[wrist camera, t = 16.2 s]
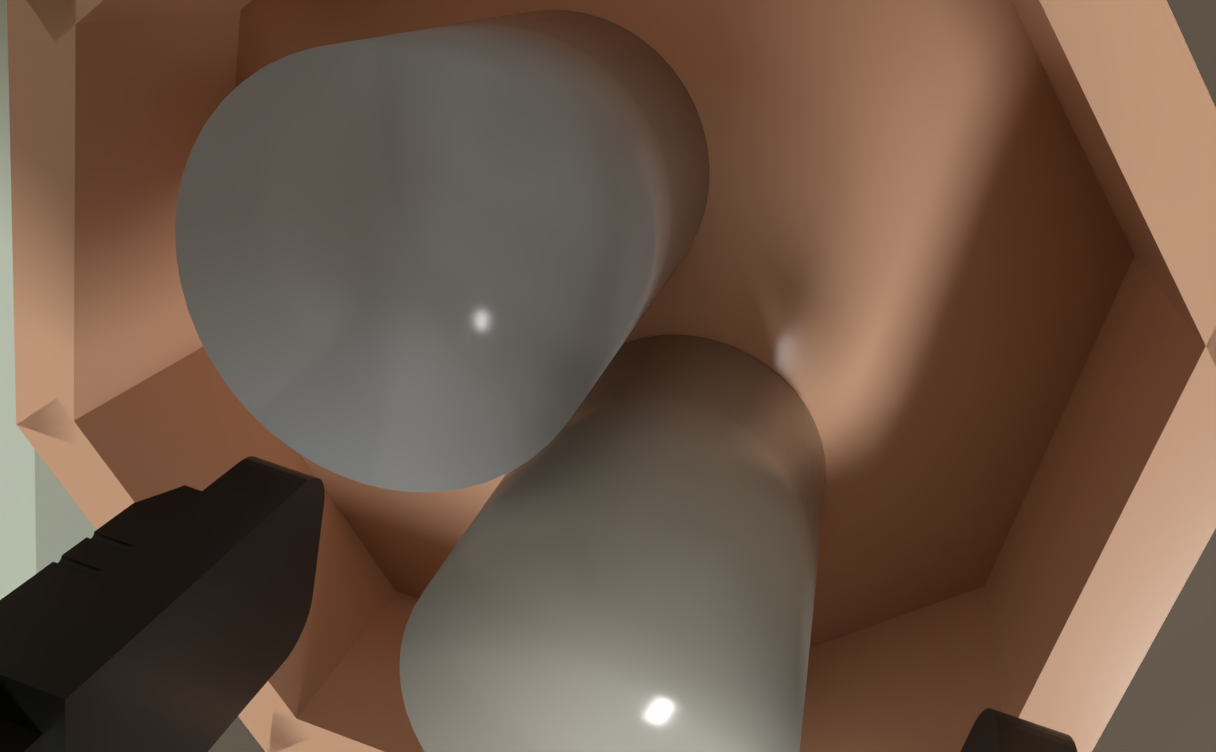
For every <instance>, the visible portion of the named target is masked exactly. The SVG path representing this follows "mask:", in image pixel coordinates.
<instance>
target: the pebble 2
mask: <svg viewBox="0 0 1216 752" xmlns="http://www.w3.org/2000/svg"><path fill="white" fill-rule="evenodd" d="M825 483H826V462H825V454H824V449H823V444H822V440H821V437H820V434H819V432H818V429H817V426H816V424H815V422H814V420H813V418H812V416H811V414H810V412H809V410H808V408H807V407H806V405H805V404H804V402H803V401H802V400H801V398H800V397H799V395H798V394H797V393H796V391H795V390H794V389H793V388H792V387H791V386H790V385H789V384H788V383H787V382H786V381H785V379H784V378H782V377H781V376H780V375H779V374H778V373H776V372H775V371H774V370H773V369H772V368H771V367H769V366H768V365H766V364H765V363H763V362H762V361H760V360H759V359H757V358H756V357H754V356H753V355H751V354H748V353H746V352H744V351H742V350H740V349H738V348H736V347H734V346H731V345H728V344H725V343H722V342H719V341H716V340H712V339H707V338H703V337H698V336H687V335H659V336H653V337H647V338H641V339H637V340H634V341H631V342H628V343H624V344H623V345H622V346H621V348H620V349H619V350H618V352H617V353H616V355H615V356H614V357H613V359H612V360H611V362H610V363H609V365H608V366H607V367H606V369H605V370H604V372H603V373H602V375H601V376H600V377H599V379H598V380H597V382H596V383H595V384H594V386H593V387H592V389H591V390H590V392H589V393H588V394H587V396H586V397H585V399H584V400H583V402H582V403H581V404H580V406H579V407H578V409H577V410H576V411H575V413H574V414H573V416H572V417H571V419H570V420H569V421H568V423H567V424H566V425H565V426H564V427H563V429H562V430H561V431H560V432H559V433H558V434H557V435H556V437H555V438H554V439H553V440H552V441H551V442H550V443H549V444H548V445H547V446H546V447H544V448H543V449H542V450H541V451H540V452H539V453H537V454H536V455H535V456H534V457H533V458H532V459H530V460H528V461H527V462H525V463H524V464H522V465H520V466H519V467H517V468H516V469H514V470H512V471H511V472H509V473H507V474H506V475H505V476H504V478H503V479H502V480H501V482H500V483H499V485H498V486H497V488H496V489H495V490H494V492H493V493H492V495H491V496H490V497H489V499H488V500H487V502H486V503H485V505H484V506H483V507H482V509H481V510H480V512H479V513H478V515H477V516H476V517H475V519H474V520H473V522H472V523H471V525H470V526H469V527H468V529H467V530H466V532H465V533H464V535H463V536H462V537H461V539H460V540H459V542H458V543H457V545H456V546H455V547H454V549H453V550H452V552H451V553H450V555H449V556H448V557H447V559H446V560H445V562H444V563H443V564H442V566H441V567H440V569H439V570H438V572H437V573H436V574H435V576H434V577H433V579H432V580H431V582H430V583H429V584H428V586H427V587H426V589H425V590H424V592H423V593H422V595H421V597H420V598H419V600H418V601H417V603H416V604H415V606H414V608H413V610H412V612H411V615H410V617H409V620H408V622H407V624H406V627H405V631H404V635H403V640H402V644H401V651H400V665H399V670H400V682H401V691H402V695H403V700H404V704H405V709H406V712H407V715H408V717H409V720H410V723H411V725H412V728H413V731H414V733H415V735H416V737H417V738H418V740H419V742H420V744H421V746H422V748H423V750H424V752H800V742H801V732H802V721H803V711H804V701H805V690H806V680H807V670H808V659H809V649H810V639H811V628H812V618H813V607H814V597H815V587H816V576H817V566H818V556H819V545H820V535H821V525H822V514H823V504H824V494H825Z"/></svg>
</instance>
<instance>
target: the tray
mask: <svg viewBox="0 0 1216 752" xmlns="http://www.w3.org/2000/svg"><path fill="white" fill-rule="evenodd" d="M94 531H96V529H95V527H94V526H93V525H92V523H91V522H90V521H89V520H88V518H87V517H86V516H85V514H84V513H83V512H82V510H81V509H80V508H79V506H78V505H77V504H76V502H75V501H74V500H73V499H72V497H71V496H70V495H69V493H68V492H67V491H66V489H65V488H64V487H63V485H62V484H61V483H60V481H59V480H58V479H57V477H56V476H55V475H54V474H53V472H52V471H51V470H50V468H49V467H48V466H47V464H46V463H45V462H44V460H43V459H42V458H41V456H40V455H39V454H38V453H37V451H36V450H35V449H34V447H33V446H32V445H31V443H30V442H29V441H28V439H27V438H26V437H25V435H24V434H23V433H22V432H21V430H20V429H19V428H18V426H17V425H16V391H15V345H14V299H13V253H12V208H11V162H10V116H9V70H8V24H7V0H0V600H1V599H2V598H4V597H5V596H6V595H8V594H9V593H11V592H12V591H13V590H15V589H16V588H17V587H19V586H20V585H22V584H23V583H24V582H26V581H27V580H28V579H30V578H31V577H33V576H34V575H35V574H37V573H38V572H39V571H41V570H42V569H44V568H45V567H46V566H48V565H49V564H50V563H52V562H56V563H58V562H59V561H60V559H61V557H62V555H63V554H64V553H66V552H67V551H68V550H70V549H71V548H72V547H74V546H75V545H77V544H78V543H79V542H81V541H82V540H83V539H85V538H86V537H87V538H90V539H91V538H92V537H93V535H94Z"/></svg>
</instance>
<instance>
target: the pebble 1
mask: <svg viewBox="0 0 1216 752" xmlns="http://www.w3.org/2000/svg"><path fill="white" fill-rule="evenodd" d="M709 170H710V167H709V157H708V147H707V142H706V138H705V133H704V129H703V125H702V123H701V120H700V117H699V114H698V112H697V109H696V106H695V104H694V102H693V100H692V98H691V97H690V95H689V93H688V91H687V89H686V87H685V86H684V84H683V83H682V81H681V80H680V78H679V77H678V75H677V74H676V73H675V71H674V70H673V69H672V67H671V66H670V65H669V64H668V63H667V62H666V61H665V60H664V59H663V58H662V56H661V55H660V54H659V53H658V52H657V51H655V50H654V49H653V48H652V47H651V46H649V45H648V44H647V43H646V42H645V41H644V40H642V39H641V38H639V37H638V36H636V35H635V34H633V33H631V32H630V31H628V30H627V29H625V28H623V27H621V26H619V25H617V24H615V23H612V22H610V21H608V20H606V19H603V18H600V17H596V16H593V15H590V14H587V13H581V12H575V11H568V10H540V11H533V12H526V13H520V14H513V15H507V16H501V17H495V18H489V19H483V20H477V21H471V22H465V23H459V24H453V25H447V26H440V27H434V28H428V29H422V30H416V31H410V32H404V33H398V34H392V35H386V36H380V37H374V38H368V39H361V40H355V41H349V42H343V43H337V44H331V45H325V46H319V47H314V48H311V49H307V50H304V51H301V52H297V53H294V54H291V55H288V56H286V57H283V58H281V59H279V60H277V61H275V62H273V63H271V64H269V65H267V66H265V67H263V68H261V69H260V70H259V71H257V72H256V73H254V74H253V75H252V76H250V77H249V78H247V79H246V80H244V81H243V82H242V83H240V84H239V85H238V86H237V87H236V88H235V89H234V90H233V91H232V92H231V93H230V94H229V95H228V96H227V97H226V98H225V99H224V100H223V101H222V102H221V103H220V104H219V106H218V107H217V108H216V110H215V111H214V112H213V114H212V115H211V116H210V118H209V119H208V120H207V122H206V123H205V125H204V127H203V128H202V130H201V132H200V134H199V136H198V138H197V140H196V142H195V143H194V145H193V147H192V150H191V152H190V155H189V158H188V161H187V164H186V166H185V169H184V172H183V176H182V180H181V185H180V190H179V194H178V199H177V210H176V222H175V238H176V257H177V264H178V270H179V276H180V282H181V286H182V290H183V294H184V297H185V301H186V304H187V308H188V311H189V314H190V316H191V319H192V321H193V324H194V327H195V329H196V332H197V334H198V337H199V339H200V341H201V342H202V344H203V346H204V348H205V350H206V352H207V354H208V356H209V358H210V360H211V362H212V363H213V365H214V366H215V368H216V369H217V371H218V372H219V374H220V375H221V377H222V378H223V380H224V381H225V383H226V384H227V386H228V387H229V388H230V390H231V391H232V392H233V393H234V395H235V396H236V397H237V398H238V399H239V401H240V402H241V403H242V404H243V406H244V407H245V408H246V409H247V410H248V411H249V412H250V413H251V414H252V415H253V416H254V417H255V418H256V419H257V420H258V421H259V422H260V423H261V424H262V425H263V426H264V427H265V428H266V429H267V430H269V431H270V432H271V433H272V434H274V435H275V436H276V437H277V438H279V439H280V440H281V441H282V442H283V443H285V444H286V445H287V446H289V447H290V448H292V449H293V450H295V451H296V452H298V453H299V454H301V455H302V456H304V457H306V458H307V459H309V460H310V461H312V462H314V463H316V464H318V465H320V466H322V467H324V468H326V469H328V470H330V471H332V472H334V473H336V474H339V475H341V476H344V477H347V478H349V479H352V480H355V481H357V482H360V483H364V484H368V485H372V486H376V487H380V488H384V489H390V490H398V491H406V492H443V491H450V490H458V489H464V488H467V487H471V486H475V485H478V484H482V483H486V482H488V481H491V480H493V479H495V478H497V477H500V476H502V475H504V474H507V473H509V472H511V471H512V470H514V469H516V468H517V467H519V466H520V465H522V464H524V463H525V462H527V461H528V460H530V459H532V458H533V457H534V456H535V455H536V454H537V453H539V452H540V451H541V450H542V449H543V448H544V447H546V446H547V445H548V444H549V443H550V442H551V441H552V440H553V439H554V438H555V437H556V435H557V434H558V433H559V432H560V431H561V430H562V429H563V427H564V426H565V425H566V424H567V423H568V421H569V420H570V419H571V417H572V416H573V414H574V413H575V411H576V410H577V409H578V407H579V406H580V404H581V403H582V402H583V400H584V399H585V397H586V396H587V394H588V393H589V392H590V390H591V389H592V387H593V386H594V384H595V383H596V382H597V380H598V379H599V377H600V376H601V375H602V373H603V372H604V370H605V369H606V367H607V366H608V365H609V363H610V362H611V360H612V359H613V357H614V356H615V355H616V353H617V352H618V350H619V349H620V348H621V346H622V345H623V343H624V342H625V340H626V339H627V338H628V336H629V335H630V333H631V332H632V331H633V329H634V328H635V326H636V325H637V323H638V322H639V321H640V319H641V318H642V316H643V315H644V313H645V312H646V311H647V309H648V308H649V306H650V305H651V304H652V302H653V301H654V299H655V298H656V296H657V295H658V294H659V292H660V291H661V289H662V288H663V286H664V285H665V284H666V282H667V281H668V279H669V278H670V277H671V275H672V274H673V272H674V271H675V269H676V268H677V267H678V265H679V264H680V262H681V261H682V259H683V258H684V256H685V255H686V253H687V251H688V250H689V248H690V247H691V245H692V243H693V241H694V239H695V237H696V234H697V232H698V230H699V228H700V225H701V222H702V218H703V215H704V212H705V208H706V203H707V197H708V191H709Z"/></svg>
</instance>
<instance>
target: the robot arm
mask: <svg viewBox="0 0 1216 752" xmlns="http://www.w3.org/2000/svg"><path fill="white" fill-rule="evenodd" d="M324 501H325V489H324V484H323V482H322V481H321V480H320V479H319V478H316V477H313V476H310V475H308V474H305V473H302V472H299V471H296V470H293V469H290V468H287V467H284V466H281V465H278V464H275V463H272V462H269V461H266V460H263V459H260V458H257V457H254V456H249V457H247V458H244V459H243V460H241V461H240V462H239V463H237V464H236V465H235V466H233V467H232V468H231V469H230V470H228V471H227V472H226V473H224V474H223V475H222V476H221V477H219V478H218V479H217V480H216V481H214V482H213V483H212V484H210V485H209V486H208V487H207V488H205V489H204V490H203V491H200V490H197V489H194V488H191V487H189V486H186V485H184V486H181V487H179V488H176V489H173V490H170V491H167V492H164V493H161V494H158V495H155V496H153V497H150V498H147V499H144V500H141V501H138V502H135V503H133V504H132V505H130V506H129V507H127V508H126V509H125V510H123V511H122V512H121V513H119V514H118V515H116V516H115V517H114V518H112V519H111V520H110V521H108V522H107V523H105V524H104V525H103V526H101V527H100V528H99V529H97V530H96V531H94V535H93V537H92V538H91V539H90V538H87V537H86V538H85V539H83V540H82V541H81V542H79V543H78V544H77V545H75V546H74V547H72V548H71V549H70V550H68V551H67V552H66V553H64V554H63V555H62V557H61V559H60V561H59V562H58V563H56V562H52V563H50V564H49V565H48V566H46V567H45V568H44V569H42V570H41V571H39V572H38V573H37V574H35V575H34V576H33V577H31V578H30V579H28V580H27V581H26V582H24V583H23V584H22V585H20V586H19V587H17V588H16V589H15V590H13V591H12V592H11V593H9V594H8V595H6V596H5V597H4V598H2V599H1V600H0V752H207V751H208V750H209V749H210V748H211V747H212V746H213V744H214V743H215V742H216V741H217V740H218V739H219V737H220V736H221V735H222V734H223V733H224V732H225V730H226V729H227V728H228V727H229V726H230V725H231V723H232V722H233V721H234V720H235V719H236V718H237V716H238V715H239V714H240V713H241V712H242V711H243V709H244V708H245V707H246V706H247V705H248V704H249V702H250V701H251V700H252V699H253V698H254V697H255V695H256V694H257V693H258V692H259V691H260V690H261V688H262V687H263V686H264V685H265V684H266V683H267V681H268V680H269V679H270V678H271V677H272V676H273V674H274V673H275V672H276V671H277V670H278V669H279V667H280V666H281V665H282V664H283V663H284V661H285V660H286V659H287V658H288V656H289V655H290V653H291V652H292V650H293V649H294V647H295V645H296V643H297V642H298V640H299V638H300V636H301V633H302V631H303V629H304V626H305V624H306V621H307V618H308V615H309V612H310V608H311V604H312V598H313V590H314V582H315V574H316V566H317V558H318V550H319V542H320V534H321V526H322V517H323V509H324ZM960 752H1077V748H1076V745H1075V742H1074V740H1073V738H1072V737H1071V736H1070V735H1067V734H1065V733H1062V732H1059V731H1056V730H1053V729H1050V728H1047V727H1044V726H1041V725H1038V724H1035V723H1032V722H1029V721H1026V720H1023V719H1020V718H1017V717H1014V716H1012V715H1009V714H1006V713H1003V712H1000V711H997V710H994V709H991V708H987V709H985V710H984V711H982V712H981V714H980V715H979V716H978V718H977V719H976V721H975V723H974V725H973V726H972V729H971V731H970V733H969V735H968V737H967V739H966V741H965V743H964V745H963V747H962V749H961V751H960Z"/></svg>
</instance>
